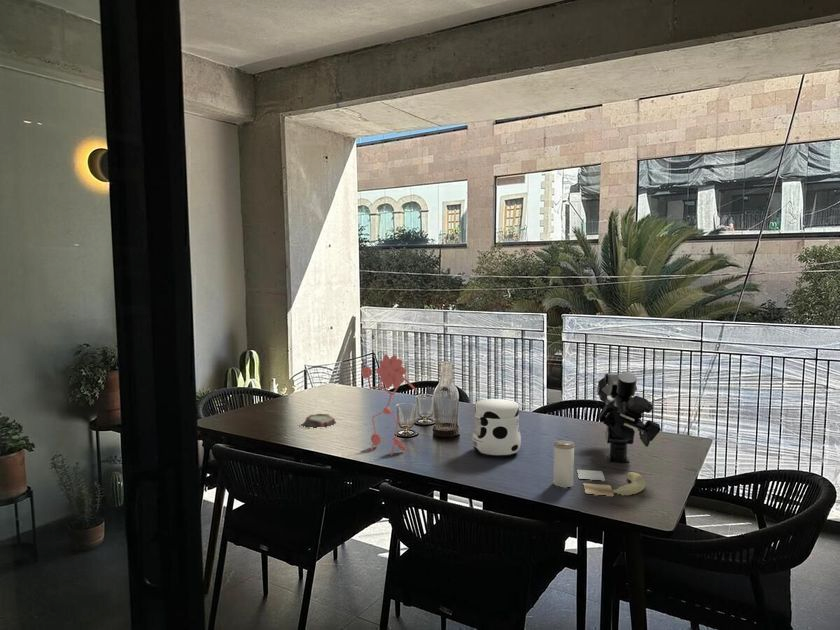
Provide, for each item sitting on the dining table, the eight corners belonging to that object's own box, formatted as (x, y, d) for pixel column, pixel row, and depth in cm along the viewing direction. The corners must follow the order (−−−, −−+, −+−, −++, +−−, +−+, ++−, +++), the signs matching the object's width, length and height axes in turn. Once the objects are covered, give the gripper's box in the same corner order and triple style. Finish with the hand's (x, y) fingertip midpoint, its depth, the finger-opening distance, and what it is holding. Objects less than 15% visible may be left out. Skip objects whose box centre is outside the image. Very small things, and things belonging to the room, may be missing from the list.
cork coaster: (583, 484, 181) (583, 483, 181) (610, 486, 180) (610, 485, 180) (585, 494, 174) (585, 493, 174) (613, 496, 172) (613, 495, 172)
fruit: (651, 484, 183) (651, 474, 182) (636, 499, 171) (636, 488, 170) (628, 479, 187) (628, 469, 187) (611, 494, 175) (612, 483, 175)
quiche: (285, 424, 253) (285, 415, 252) (327, 416, 265) (327, 408, 265) (307, 435, 236) (307, 425, 236) (351, 427, 248) (351, 417, 248)
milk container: (528, 450, 214) (529, 402, 213) (507, 464, 200) (508, 412, 198) (486, 442, 224) (486, 396, 222) (463, 454, 210) (463, 405, 208)
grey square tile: (576, 470, 193) (576, 469, 193) (602, 472, 192) (602, 471, 192) (578, 479, 186) (578, 478, 186) (605, 481, 184) (605, 480, 184)
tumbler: (552, 480, 185) (553, 439, 184) (572, 481, 184) (573, 441, 183) (553, 487, 179) (554, 445, 178) (574, 488, 178) (575, 447, 177)
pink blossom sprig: (409, 460, 203) (409, 360, 201) (352, 447, 218) (352, 354, 215) (433, 449, 216) (434, 355, 214) (378, 438, 231) (378, 349, 228)
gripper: (612, 379, 187) (620, 410, 174) (665, 401, 189) (676, 433, 175) (595, 404, 193) (601, 435, 180) (646, 424, 194) (655, 458, 181)
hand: (633, 440), depth 179 cm, fingers open, 9 cm apart
